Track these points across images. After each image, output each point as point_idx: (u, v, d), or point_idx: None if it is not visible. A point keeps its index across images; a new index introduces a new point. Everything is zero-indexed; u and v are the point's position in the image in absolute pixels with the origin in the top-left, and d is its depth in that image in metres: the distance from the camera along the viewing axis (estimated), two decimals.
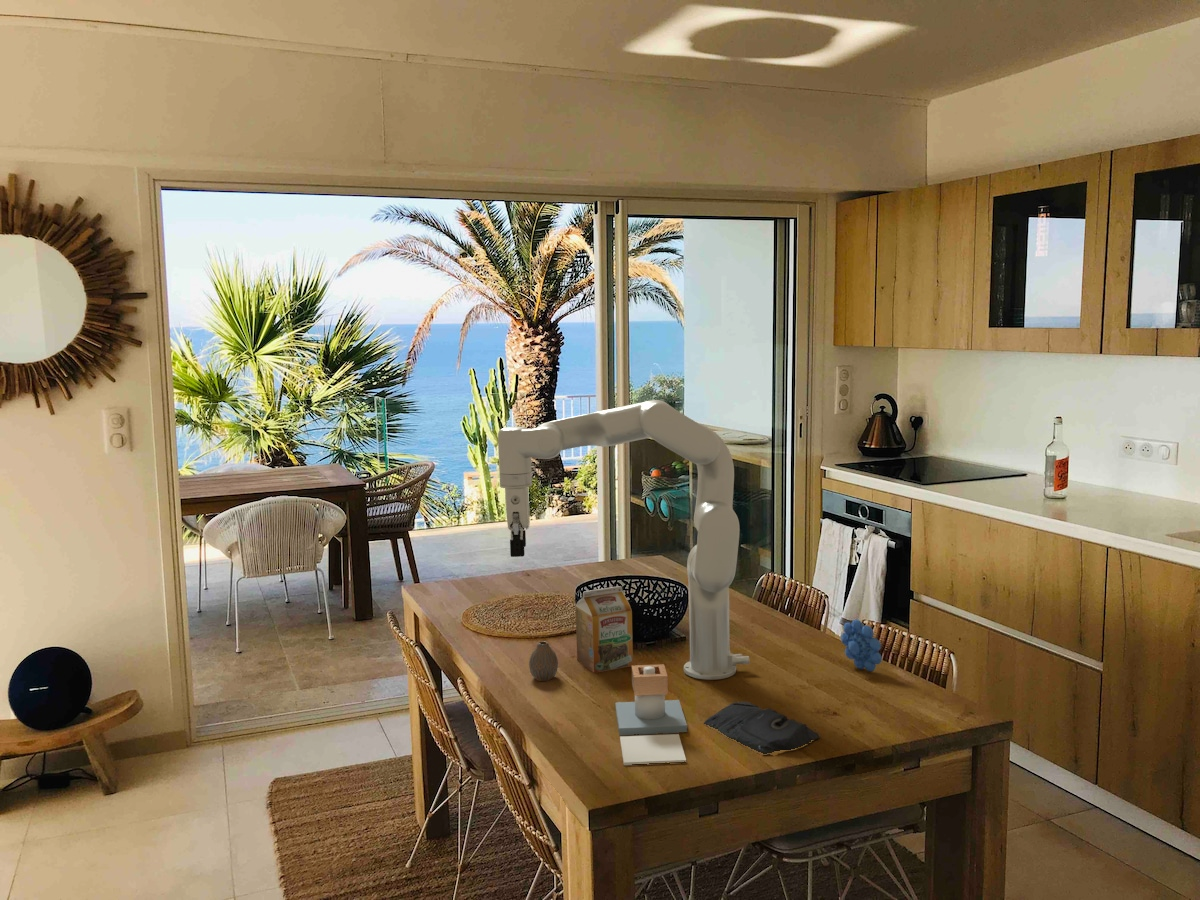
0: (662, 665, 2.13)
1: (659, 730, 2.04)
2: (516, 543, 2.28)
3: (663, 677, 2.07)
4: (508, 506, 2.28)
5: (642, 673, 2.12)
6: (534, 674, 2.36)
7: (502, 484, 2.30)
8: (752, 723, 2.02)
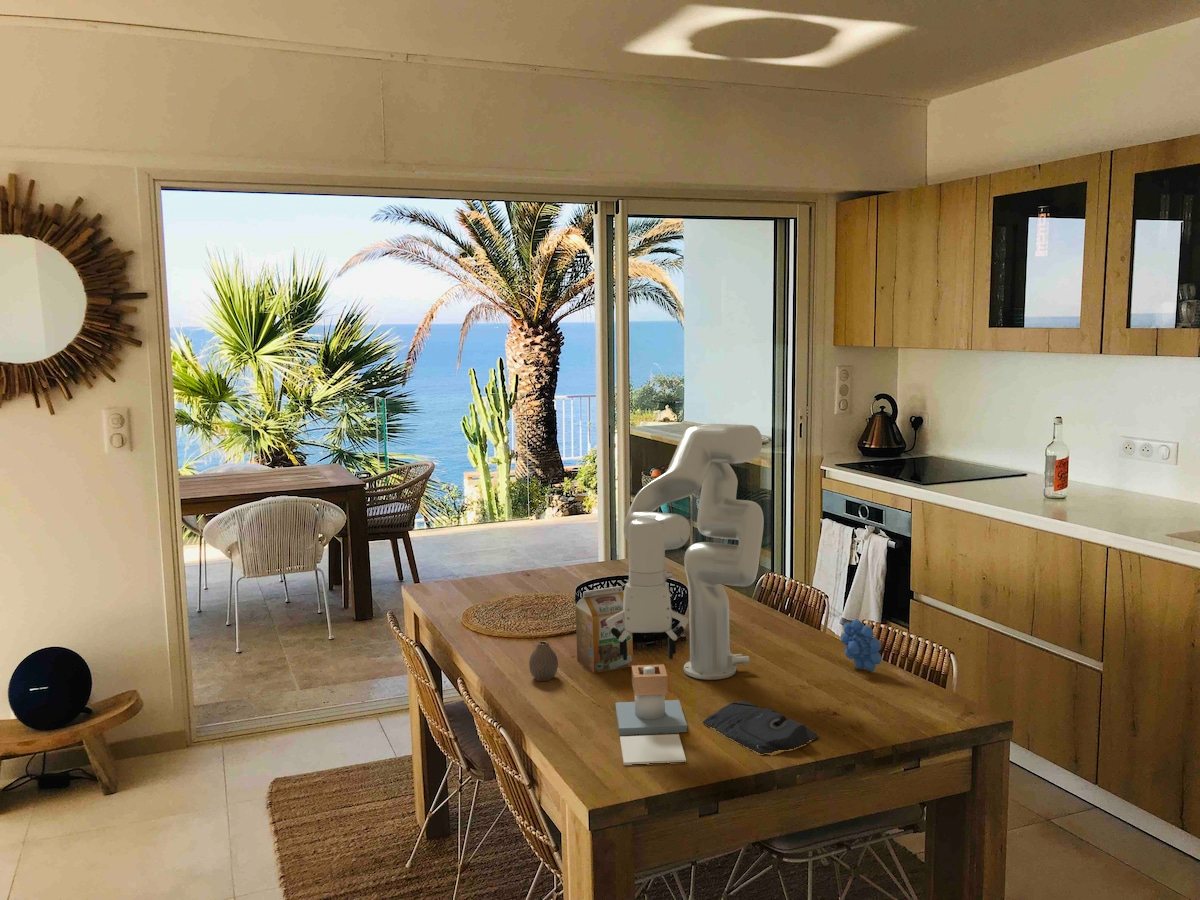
0: (662, 665, 2.13)
1: (659, 730, 2.04)
2: None
3: (663, 677, 2.07)
4: (670, 604, 2.06)
5: (642, 673, 2.12)
6: (534, 674, 2.36)
7: (658, 584, 2.04)
8: (750, 723, 2.02)
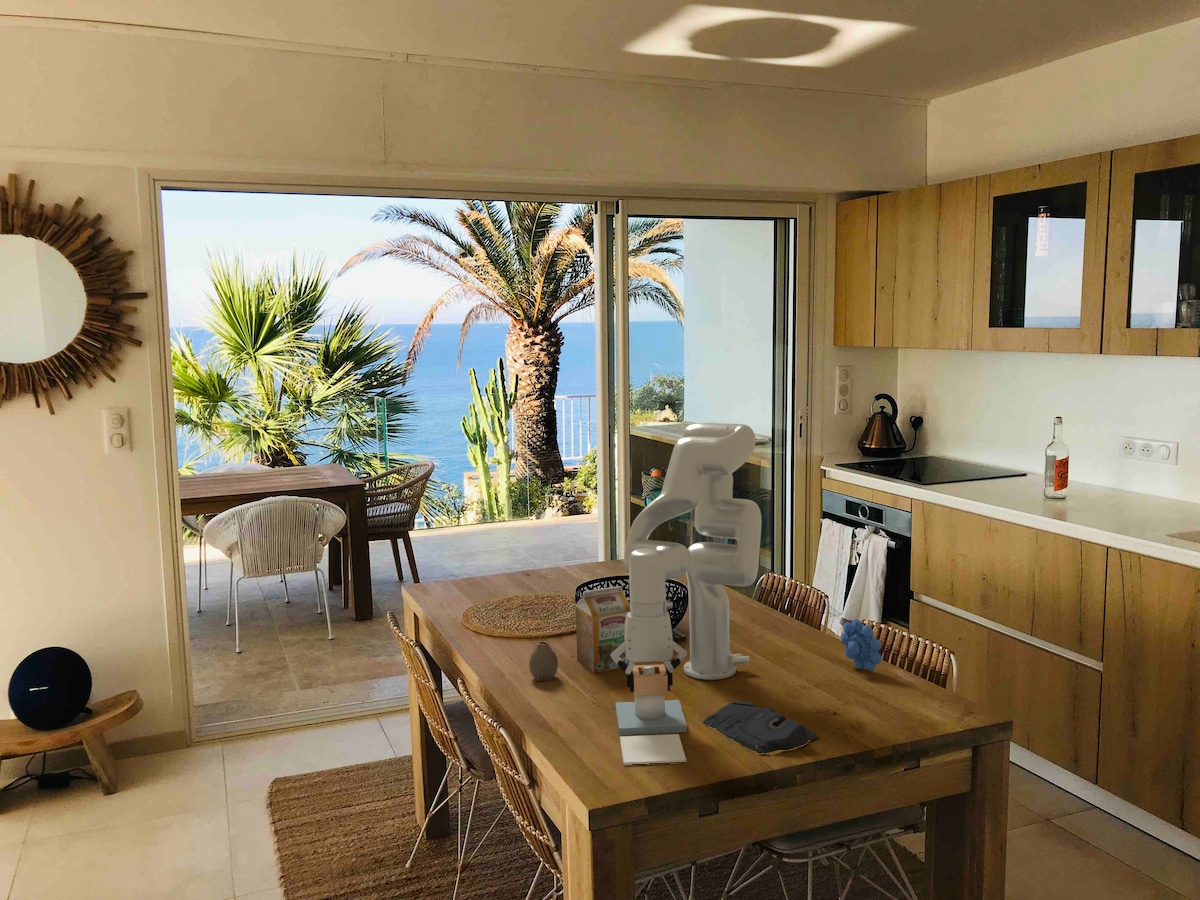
0: (662, 665, 2.13)
1: (659, 730, 2.04)
2: None
3: (663, 677, 2.07)
4: (671, 634, 2.07)
5: (642, 673, 2.12)
6: (534, 674, 2.36)
7: (659, 614, 2.05)
8: (750, 723, 2.02)
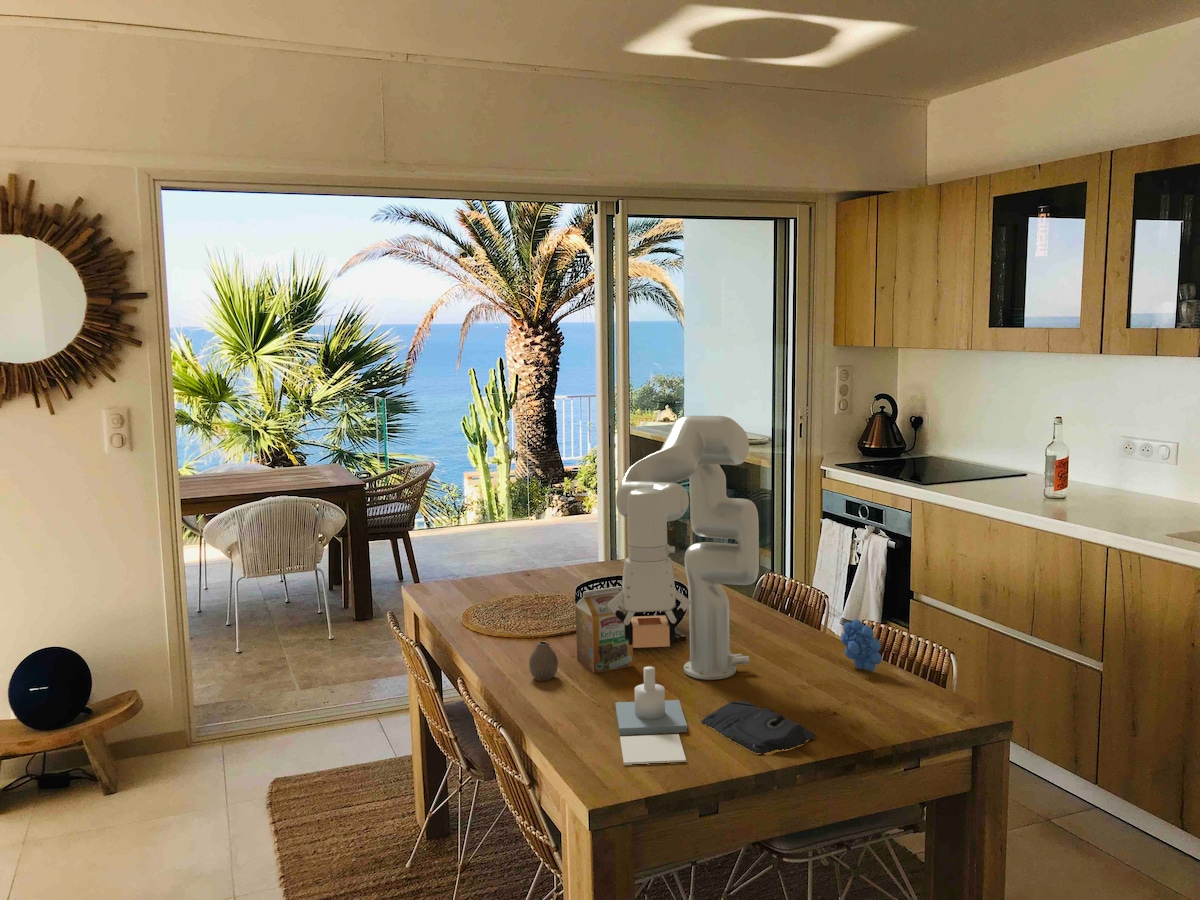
0: (663, 616, 1.96)
1: (659, 730, 2.04)
2: None
3: (665, 627, 1.90)
4: (673, 581, 1.90)
5: (642, 625, 1.95)
6: (534, 674, 2.36)
7: (661, 559, 1.88)
8: (748, 722, 2.02)
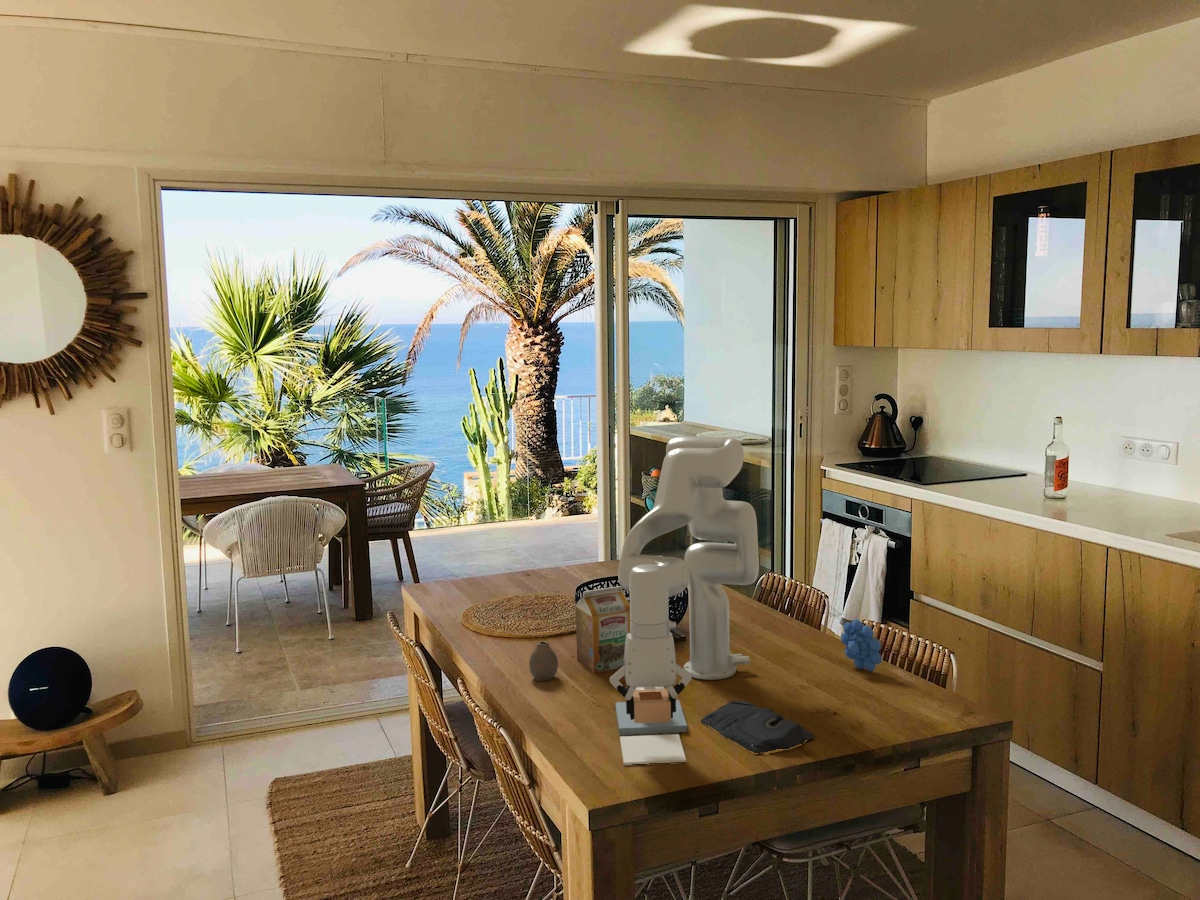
0: (665, 690, 1.98)
1: (659, 730, 2.04)
2: None
3: (666, 703, 1.91)
4: (675, 657, 1.92)
5: (643, 698, 1.97)
6: (534, 674, 2.36)
7: (662, 636, 1.90)
8: (747, 722, 2.03)
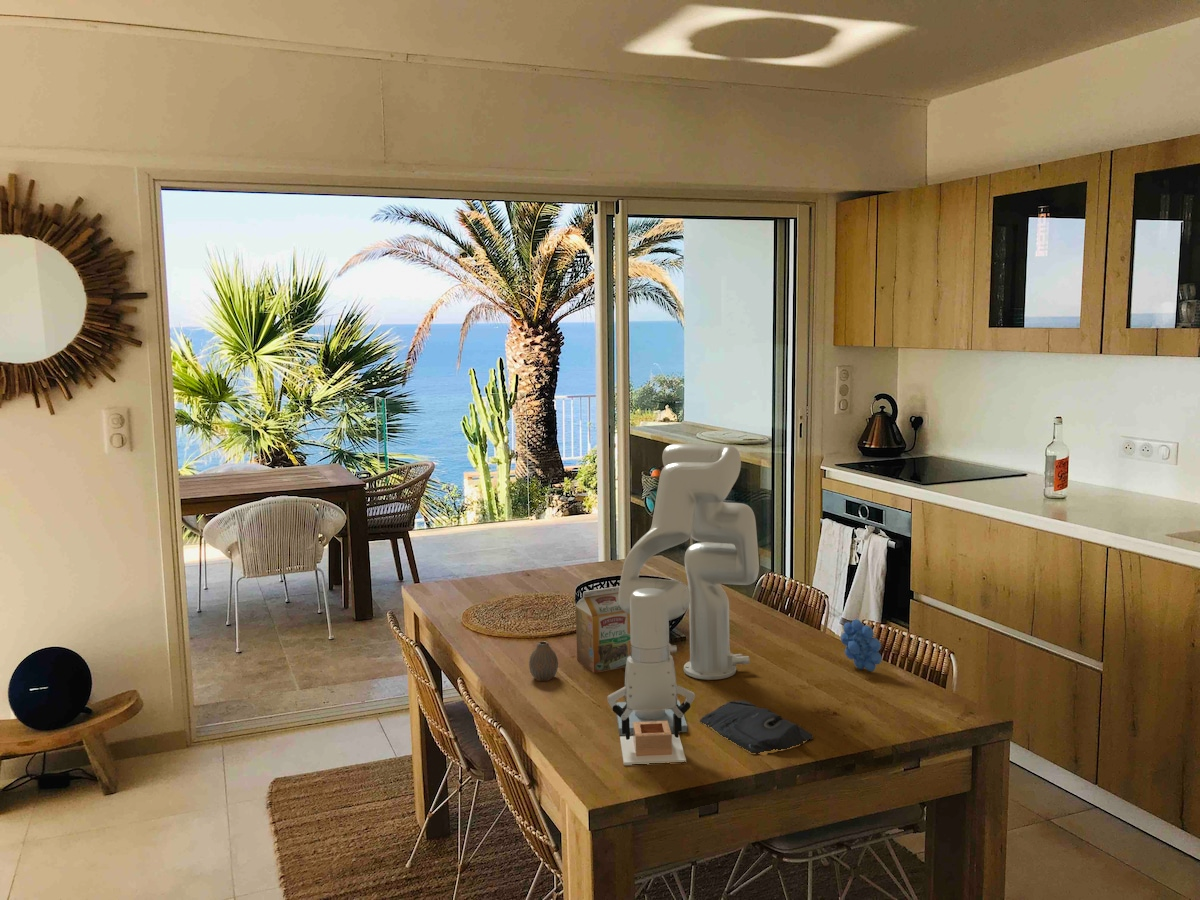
0: (666, 721, 1.99)
1: None
2: None
3: (667, 736, 1.93)
4: (675, 680, 1.93)
5: (644, 730, 1.98)
6: (534, 674, 2.36)
7: (662, 660, 1.91)
8: (745, 722, 2.03)
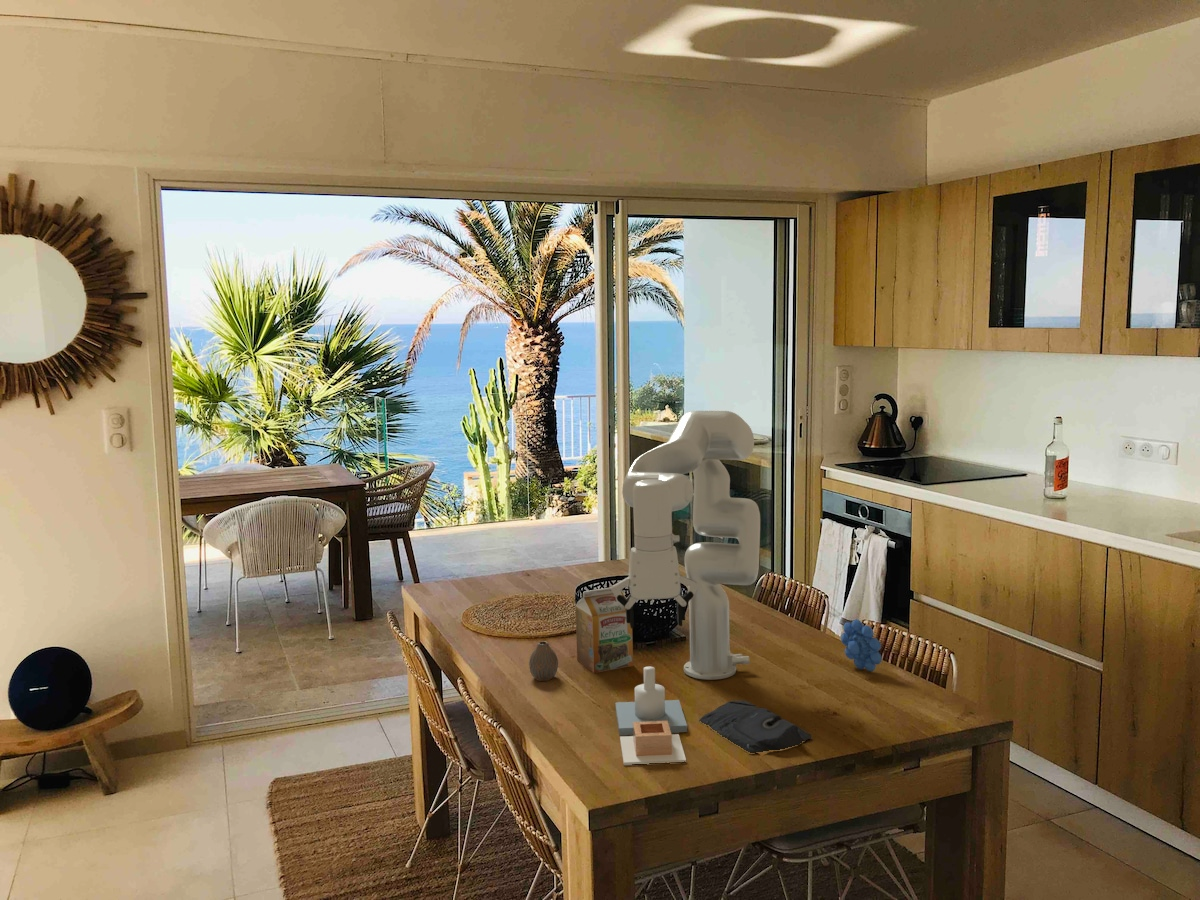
0: (666, 721, 1.99)
1: None
2: None
3: (667, 736, 1.93)
4: (678, 569, 1.96)
5: (644, 730, 1.98)
6: (534, 674, 2.36)
7: (666, 548, 1.94)
8: (744, 722, 2.03)
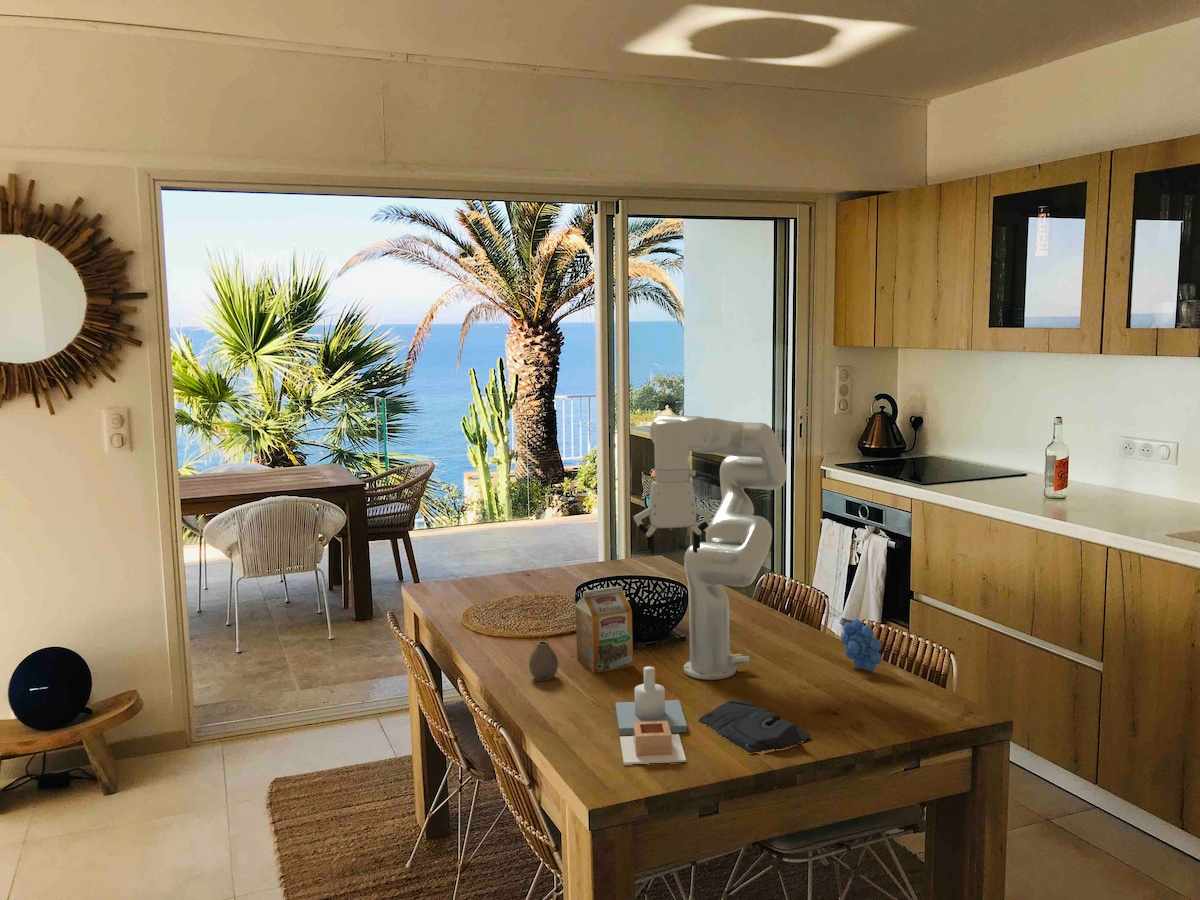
0: (666, 721, 1.99)
1: None
2: None
3: (667, 736, 1.93)
4: (694, 500, 2.17)
5: (644, 730, 1.98)
6: (534, 674, 2.36)
7: (683, 480, 2.15)
8: (744, 722, 2.03)
